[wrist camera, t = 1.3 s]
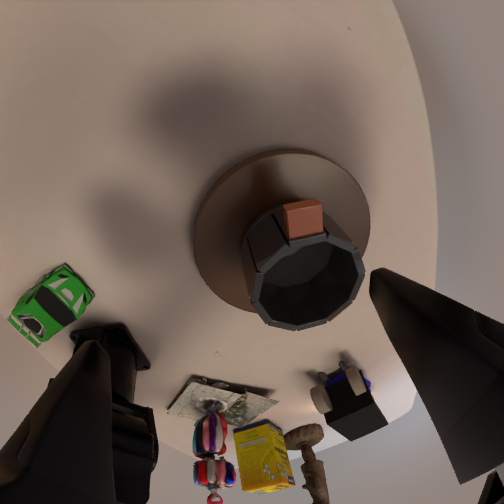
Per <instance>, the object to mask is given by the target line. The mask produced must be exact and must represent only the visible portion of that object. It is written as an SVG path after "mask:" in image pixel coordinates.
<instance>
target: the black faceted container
mask: <svg viewBox="0 0 504 504" xmlns="http://www.w3.org/2000/svg"><path fill="white" fill-rule="evenodd" d="M241 258H242V261H241V264H242V268H243V273H244V277H245V282H246V286H247V290H248V295H249V299H250V303H251V305H252V307H253V308H254V309H255V311H256V312H257V313H258V315H259V316H260V317H261V319H262V320H263V321H264V322H265V324H267V323H268V325H269V326H273V327H277V328H282V329H287V330H291V331H295V330H296V329H297V331H300V330H304V329H307V328H311V327H315V326H318V325H322V324H325V323H327V321H329V322H330V321H331V320H332V319H333V318H335V317H336V316H337V315H338V314H340V313H341V312H342V311H343V310H344V309H346V308H347V307H348V306H349V305H350V304H352V303H353V302H352V300H355V298H356V296H357V293H358V291H359V289H360V286H361V284H362V282H363V279H364V277H365V274H364V273H365V268H364V265H363V261H362V258H361V255H360V252H359V248H358V247H357V246H356V245H355V243H354V242H353V241H352V240H351V239H350V238H349V237H348V235H347V234H346V233H345V232H344V231H343V230H342V229H341V228H340V226H339V225H338V224H337V223H336V222H335V221H334V220H333V219H332V218H331V217H330V216H329V215H327V214H326V213H325V212H324V211H323V210H322V204H321V203H320V202H319V201H318V200H317V199H316V198H315V199H310V200H305V201H300V202H288V203H283V204H279V205H276V206H274V207H272V208H270V209H268V210H266V211H265V212H263V213H262V214H260V215H259V216H258V217H257V218H256V219H255V220H254V221H253V222H252V223H251V225H250V226H249V228H248V229H247V231H246V233H245V235H244V237H243V240H242V245H241Z"/></svg>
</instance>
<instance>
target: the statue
mask: <svg viewBox="0 0 504 504" xmlns="http://www.w3.org/2000/svg"><path fill="white" fill-rule="evenodd" d="M190 379H194V378H190ZM191 381H192V382H191ZM199 381H201V379H195V380H189V381H188V382H187V384H190V385H189V386H188V387H187V388H186V390H185V391H184V392H183V393H182V394H180V395H177V397H176V399H175V400H177V401H176V402H175V403H174V404H173V406H172V407H171V408H170V407H168V408H167V410H168V409H169V411H168V412H167V413H166V414H170V415H174V416H179V417H185V418H190V419H193V420H197V421H196V422H195V424H194V426H196V428H195V431H194V435H193V453H194V454H195V456H196V457H199V458H201V459H203V460H201V461H196V462H195V463H194V464H195V465H194V470H193V477H194V483H195V485H199V486H206V487H208V490H210V491H211V494H210V495H209V496H208V498H207V504H223V500H222V498H221V497H220V496H219V495H218V494H217V488H218V489H223V488H227V487H232V486H233V485H234V483H235V481H236V473H235V471H234V465H232V464H231V463H230V462H227V461H226V460H225V459H222V458H224V457H220V458H219V459H221V460H215V459H214V458H215V456H214V454H217V455H220V454H221V455H222V454H224V453H225V452H226V445H225V444H224V440H225V437H226V435H227V424H230V425H234V426H237V427H240V428H242V427H244V426H245V425H246V424H248V423H249V422H250V421H252V420H253V419H254V418H256V417H257V416H258V415H260V414H262V413H263V412H265V411H266V410H268V409H269V408H270V407H272V406H273V405H275V404H276V403H278V402H279V401H276V400H272V399H268V398H265V397H262V396H259V395H255V394H252V393H249V392H247V390H246V389H247V388H244V389H243V391H242V392H241V393H242V394H243V395H240V393H239V394H237V393H233V392H230V391H225V390H221V389H217V388H226V387H227V386H228V385H225V384H224V383H219V382H218V383H217V382H215V383H216V384H212V387H210V386H206V385H207V384H204V383H206V381H207V379H206V378H203V380H202V381H201V382H199ZM197 382H199V383H197ZM208 385H209V384H208ZM220 385H221V386H220ZM214 387H217V388H214Z"/></svg>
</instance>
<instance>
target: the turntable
mask: <svg viewBox="0 0 504 504" xmlns="http://www.w3.org/2000/svg"><path fill="white" fill-rule="evenodd" d="M315 198H316V199H317V200H318V201H319V202H320V203H321V204H322V210H323V211H324V212H325V213H326V214H327V215H329V216H330V217H331V218H332V219H333V220H334V221H335V222H336V223H337V224H338V225H339V226H340V228H341V229H342V230H343V231H344V232H345V233H346V234H347V235H348V237H349V238H350V239H351V240H352V241H353V242H354V243H355V245H356V246H357V247H358V248H359V252H360V255H361V258H362V257H363V255H364V252H365V250H366V247H367V244H368V240H369V234H370V213H369V207H368V203H367V200H366V197H365V195H364V193H363V191H362V189H361V187H360V186H359V184H358V183H357V182H356V180H355V179H354V178H353V177H352V176H351V175H350V174H349V173H348V172H347V171H346V170H345V169H343V168H342V167H341V166H339V165H338V164H336V163H335V162H333V161H331V160H329V159H327V158H325V157H324V156H321V155H319V154H316V153H313V152H309V151H304V150H296V149H282V150H273V151H269V152H265V153H261V154H258V155H255V156H253V157H250V158H248V159H246V160H244V161H242V162H241V163H239V164H237V165H235V166H234V167H233V168H231V169H230V170H229V171H227V172H226V173H225V174H224V175H223V176H222V177H221V178H220V179H219V180H218V181H217V182H216V183H215V184H214V185H213V187H212V188H211V189H210V191H209V192H208V193H207V195H206V197H205V199H204V200H203V202H202V204H201V207H200V209H199V212H198V214H197V219H196V223H195V230H194V254H195V259H196V263H197V267H198V269H199V272H200V274H201V276H202V278H203V279H204V281H205V282H206V284H207V285H208V286H209V288H210V289H211V290H212V291H213V292H214V293H215V294H216V295H217V296H218V297H220V298H221V299H222V300H224V301H225V302H227V303H228V304H230V305H232V306H234V307H237V308H239V309H242V310H245V311H249V312H253V313H257V312H256V311H255V309H254V308H253V307H252V305H251V303H250V299H249V295H248V290H247V286H246V282H245V277H244V273H243V268H242V264H241V261H242V258H241V245H242V240H243V237H244V235H245V233H246V231H247V229H248V228H249V226H250V225H251V223H252V222H253V221H254V220H255V219H256V218H257V217H258V216H259V215H260V214H262V213H263V212H265V211H266V210H268V209H270V208H272V207H274V206H276V205H279V204H283V203H288V202H300V201H305V200H310V199H315Z"/></svg>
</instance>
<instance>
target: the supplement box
mask: <svg viewBox="0 0 504 504" xmlns="http://www.w3.org/2000/svg"><path fill="white" fill-rule="evenodd" d="M233 433H234V439H235V446H236V453H237V459H238V465H239V472H240V478H241V484H242V490H243V491H244V492H254V493H259V494H263V493H268V492H273V491H277V490H281V489H285V488H289V487H292V486H295V481H294V478H293V475H292V470H291V467H290V462H289V459H288V455H287V451H286V446H285V443H284V438H283V434H282V430H281V429H280V428H278V427H276V426H275V425H273V424H272V423H271V422H270V421H268V420H267V419H265V420H263V421H260V422H257V423H253V424H250V425H247V426H244V427H242V428H237V429H234V430H233Z"/></svg>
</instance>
